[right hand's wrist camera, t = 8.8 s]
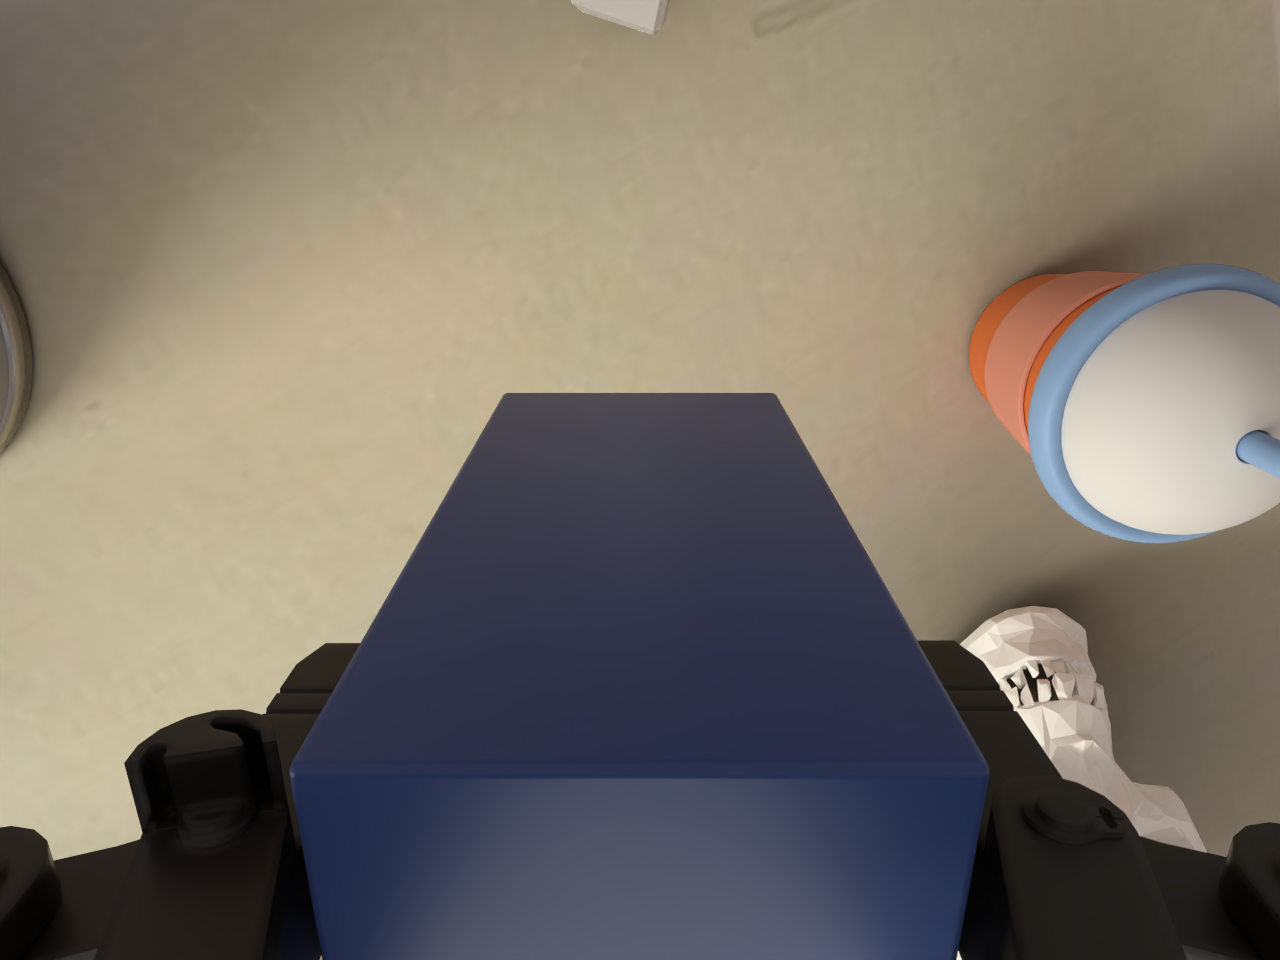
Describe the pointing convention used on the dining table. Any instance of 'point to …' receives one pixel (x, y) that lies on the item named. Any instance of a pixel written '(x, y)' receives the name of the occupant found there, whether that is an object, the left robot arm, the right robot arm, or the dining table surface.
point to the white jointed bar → (628, 12)
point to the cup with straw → (1141, 394)
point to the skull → (1073, 715)
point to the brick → (639, 713)
